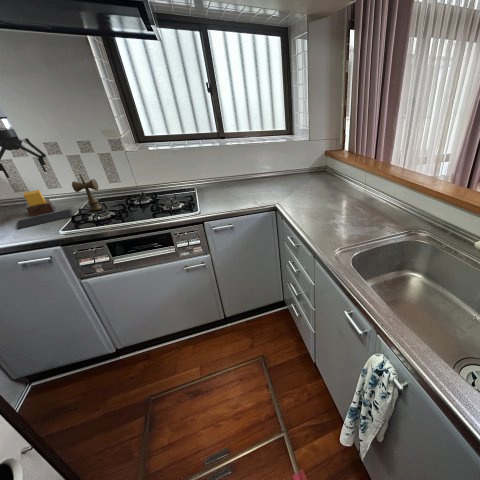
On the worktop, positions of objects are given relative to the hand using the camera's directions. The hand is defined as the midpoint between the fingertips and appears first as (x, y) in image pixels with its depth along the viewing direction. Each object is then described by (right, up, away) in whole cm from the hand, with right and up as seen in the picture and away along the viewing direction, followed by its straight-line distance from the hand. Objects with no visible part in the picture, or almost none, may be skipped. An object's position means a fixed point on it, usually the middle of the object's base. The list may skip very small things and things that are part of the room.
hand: (27, 174), depth 134 cm
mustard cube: (-4, -13, +8) cm, 16 cm away
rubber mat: (+7, -22, +2) cm, 24 cm away
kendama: (+25, -17, +12) cm, 32 cm away
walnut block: (-3, -18, +11) cm, 21 cm away
